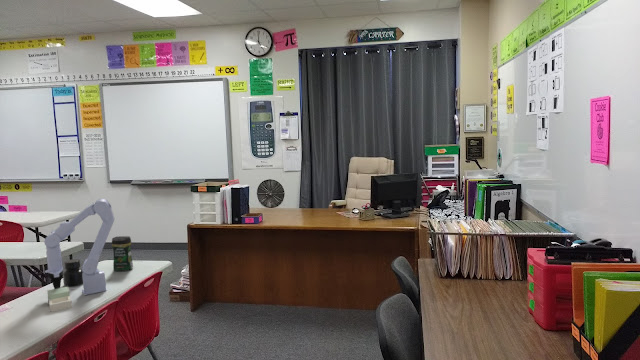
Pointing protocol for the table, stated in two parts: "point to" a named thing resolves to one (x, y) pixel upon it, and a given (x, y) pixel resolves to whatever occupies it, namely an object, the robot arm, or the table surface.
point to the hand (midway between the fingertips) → (57, 288)
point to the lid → (58, 293)
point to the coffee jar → (122, 253)
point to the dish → (60, 303)
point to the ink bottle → (72, 273)
